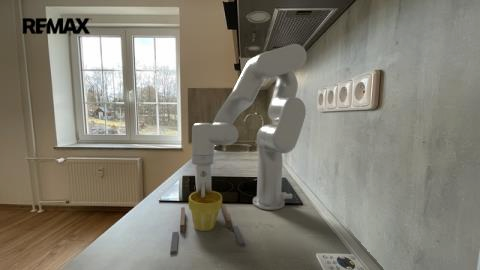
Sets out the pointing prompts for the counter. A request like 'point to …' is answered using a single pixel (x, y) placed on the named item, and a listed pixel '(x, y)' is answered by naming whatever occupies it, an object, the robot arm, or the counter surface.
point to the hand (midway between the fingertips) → (201, 209)
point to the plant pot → (205, 209)
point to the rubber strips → (175, 239)
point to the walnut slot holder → (224, 212)
